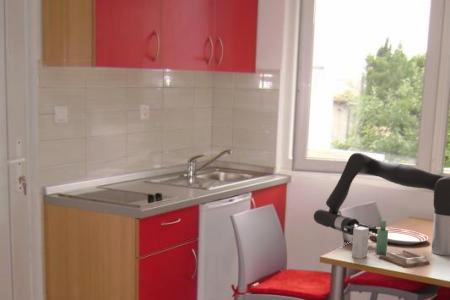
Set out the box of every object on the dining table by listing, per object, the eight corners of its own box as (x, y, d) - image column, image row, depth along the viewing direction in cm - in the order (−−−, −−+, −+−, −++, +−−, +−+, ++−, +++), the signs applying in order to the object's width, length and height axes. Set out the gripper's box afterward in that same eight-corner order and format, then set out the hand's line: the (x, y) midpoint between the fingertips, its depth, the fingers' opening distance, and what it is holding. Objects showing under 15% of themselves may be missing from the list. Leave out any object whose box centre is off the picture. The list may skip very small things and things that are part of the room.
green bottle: (381, 251, 257) (383, 219, 256) (388, 254, 253) (391, 221, 252) (373, 252, 255) (375, 220, 254) (381, 255, 251) (383, 222, 250)
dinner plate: (420, 235, 294) (421, 229, 294) (434, 249, 267) (435, 242, 266) (363, 231, 296) (364, 225, 296) (372, 245, 269) (372, 237, 269)
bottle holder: (403, 255, 252) (404, 248, 252) (429, 264, 240) (430, 256, 240) (378, 258, 246) (379, 251, 245) (404, 267, 233) (404, 259, 233)
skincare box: (358, 254, 251) (359, 226, 250) (367, 256, 248) (369, 227, 247) (351, 256, 246) (353, 228, 245) (360, 258, 243) (362, 230, 242)
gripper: (335, 217, 270) (359, 225, 256) (359, 216, 277) (384, 223, 263) (334, 234, 271) (358, 242, 256) (358, 231, 277) (383, 239, 263)
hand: (371, 232), depth 260 cm, fingers open, 8 cm apart
